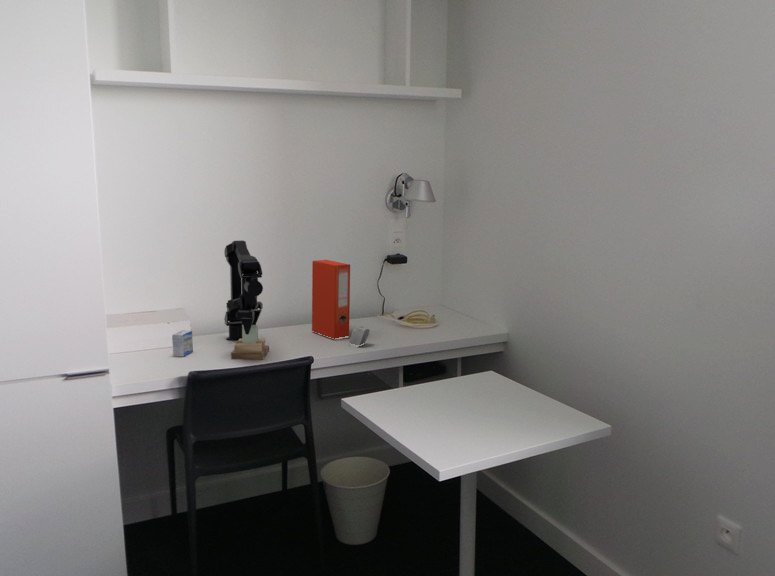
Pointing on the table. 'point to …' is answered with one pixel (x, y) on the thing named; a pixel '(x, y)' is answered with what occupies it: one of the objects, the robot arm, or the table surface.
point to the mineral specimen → (359, 335)
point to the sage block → (250, 335)
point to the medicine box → (182, 343)
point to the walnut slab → (250, 355)
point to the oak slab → (249, 346)
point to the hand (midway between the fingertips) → (250, 331)
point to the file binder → (330, 298)
